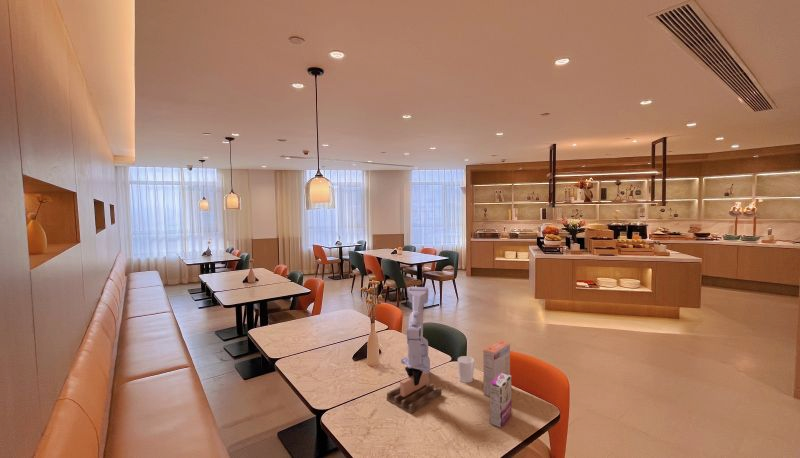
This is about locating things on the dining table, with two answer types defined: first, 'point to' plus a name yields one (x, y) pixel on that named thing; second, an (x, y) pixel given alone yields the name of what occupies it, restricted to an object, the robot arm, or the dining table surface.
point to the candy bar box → (500, 400)
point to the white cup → (465, 369)
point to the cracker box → (495, 363)
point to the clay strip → (412, 384)
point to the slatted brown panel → (414, 397)
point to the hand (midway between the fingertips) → (414, 383)
